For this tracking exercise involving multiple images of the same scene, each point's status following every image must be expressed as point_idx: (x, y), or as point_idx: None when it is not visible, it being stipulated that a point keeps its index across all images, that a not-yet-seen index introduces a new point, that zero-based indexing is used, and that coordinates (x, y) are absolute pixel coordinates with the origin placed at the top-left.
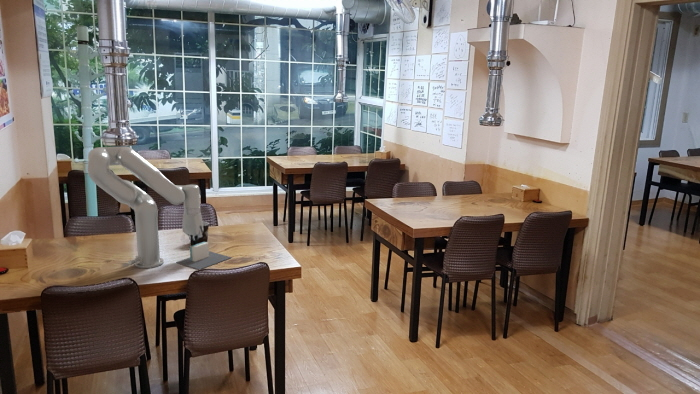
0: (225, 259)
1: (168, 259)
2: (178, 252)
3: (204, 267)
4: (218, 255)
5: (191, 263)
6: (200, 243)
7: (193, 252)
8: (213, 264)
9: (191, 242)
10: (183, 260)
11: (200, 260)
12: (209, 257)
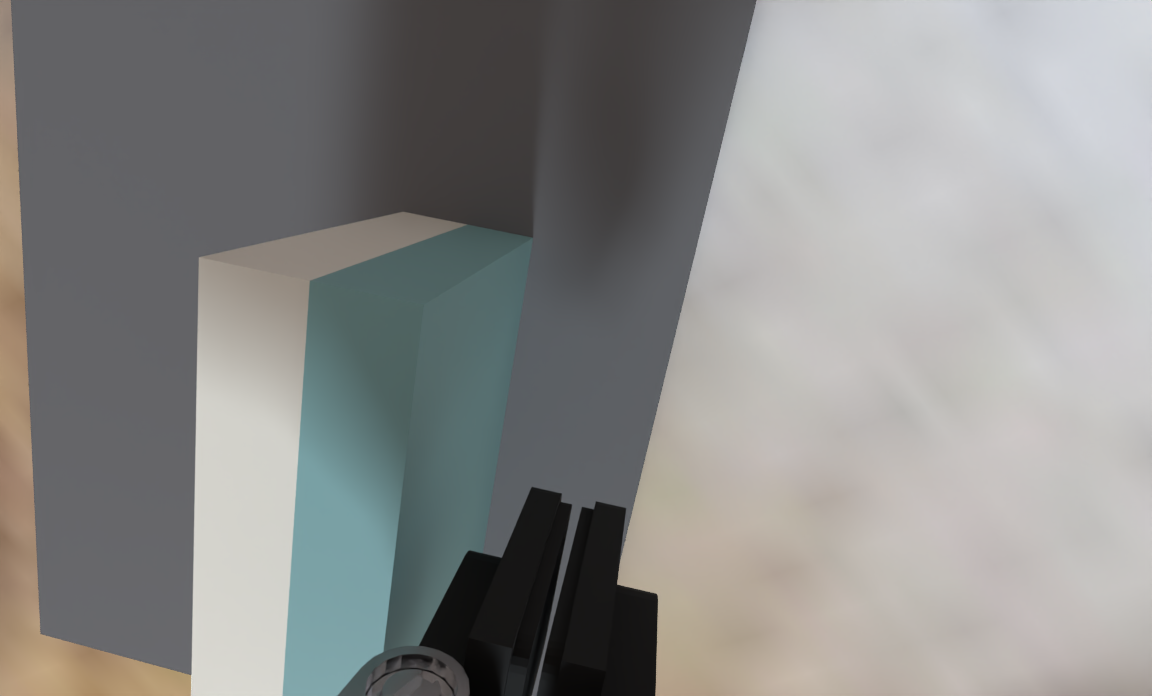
0: (39, 522)
1: (1087, 119)
2: (1117, 579)
3: (11, 10)
4: None
5: (384, 83)
6: (336, 677)
7: (334, 240)
8: (28, 248)
9: (569, 603)
10: (665, 166)
11: None
12: None
